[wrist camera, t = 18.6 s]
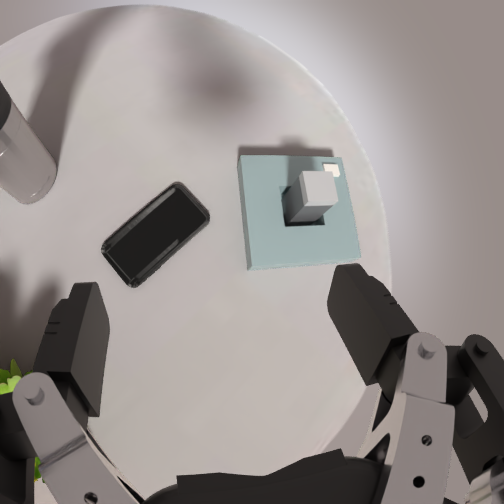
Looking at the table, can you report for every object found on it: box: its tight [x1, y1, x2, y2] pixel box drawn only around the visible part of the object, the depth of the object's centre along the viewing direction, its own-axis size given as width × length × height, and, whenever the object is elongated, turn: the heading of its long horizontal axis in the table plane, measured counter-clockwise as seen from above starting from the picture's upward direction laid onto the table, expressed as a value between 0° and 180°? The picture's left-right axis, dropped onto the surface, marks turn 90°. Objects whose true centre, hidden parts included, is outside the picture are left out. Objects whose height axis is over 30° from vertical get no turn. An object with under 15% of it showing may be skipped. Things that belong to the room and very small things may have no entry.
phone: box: [101, 184, 210, 288], centre depth 43 cm, size 8×1×15 cm
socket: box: [237, 155, 361, 271], centre depth 45 cm, size 16×16×4 cm
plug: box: [281, 171, 338, 226], centre depth 42 cm, size 4×4×10 cm
